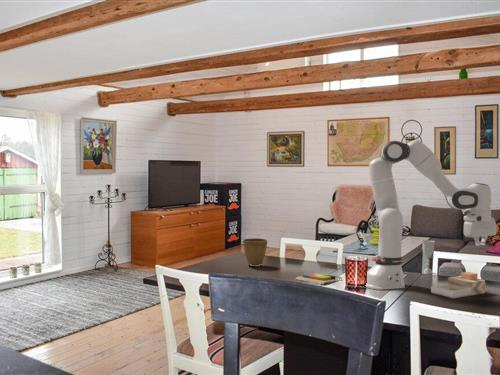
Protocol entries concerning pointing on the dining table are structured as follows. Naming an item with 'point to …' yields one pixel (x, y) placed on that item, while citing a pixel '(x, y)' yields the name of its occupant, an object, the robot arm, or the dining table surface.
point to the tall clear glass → (428, 253)
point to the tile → (469, 275)
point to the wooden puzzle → (319, 278)
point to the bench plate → (467, 285)
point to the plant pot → (255, 250)
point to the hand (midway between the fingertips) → (480, 245)
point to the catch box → (449, 291)
